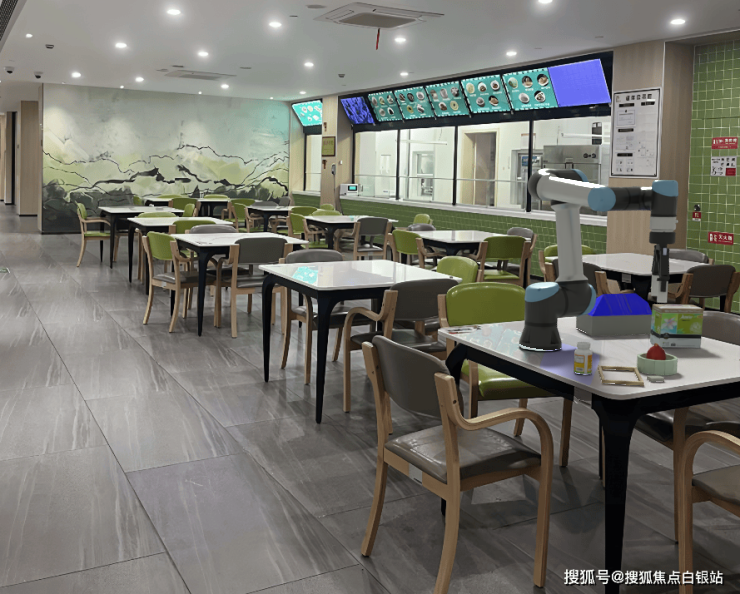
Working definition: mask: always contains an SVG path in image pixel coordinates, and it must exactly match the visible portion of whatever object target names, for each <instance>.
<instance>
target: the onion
mask: <svg viewBox="0 0 740 594" xmlns="http://www.w3.org/2000/svg"><path fill="white" fill-rule="evenodd" d="M646 353H647V354H646V357H647V359H651V360H666V354H667V353H666V351H665V349H664V347H660V346H659V345H658V344H657V343H655V344H653V345H652V346H651V347H649V348H648V350H647V351H646Z"/></svg>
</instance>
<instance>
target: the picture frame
mask: <svg viewBox="0 0 740 594" xmlns="http://www.w3.org/2000/svg"><path fill="white" fill-rule="evenodd" d="M602 369H616V370H630V371H629V372H635V373H634V375H635V374H636V375H635V377H636V376H637V377H636V379H637V378H638V379H637V380H622V379H621V380H620V379H605V375H604V372H603V370H602ZM598 370H599V371H598ZM616 370H615V371H616ZM597 371H598V374H600V375H599V378H600V377H601V379H600V381H601V380H602V382H601V384H602V383H615V384H626V385H625V386H630V385H640V386H639V387H644V386H645V382H644V380H643V377H642V376H641V374H640V373H641V372H639V371H638V369H637V366H622V365H621V366H619V365H617V366H616V365H597Z"/></svg>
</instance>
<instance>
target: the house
mask: <svg viewBox="0 0 740 594" xmlns="http://www.w3.org/2000/svg"><path fill="white" fill-rule="evenodd" d="M651 309H652V308H651V307H650V305H649V302H648V301H646V300H645V299H643V298H642V297H641V296H639V295H638V294H637V293H636V292H634V293H603V294H601V295H599V296H598V297H597V296H596V303H595V306H594V308H593V309H592V310H591V312H590V313H588V314H586V315H582V316H578V317H575V318H576V319H575V320H576V321H575V329H576V328H578V329H580V330H582V331H584V332H586V333H587V334H586V333H585V334H586V335H588V334H589V336H590V335H591V337H601V336H602V337H604V336H606V337H607V336H609V337H611V336H635V335H639V334H645V335H650V334H651V320H652V310H651ZM578 329H577V330H578ZM580 330H579V331H580ZM582 331H581V332H582ZM584 332H583V333H584ZM632 334H633V335H632ZM634 334H635V335H634ZM639 336H640V335H639Z"/></svg>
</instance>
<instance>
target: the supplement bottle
mask: <svg viewBox="0 0 740 594" xmlns="http://www.w3.org/2000/svg"><path fill="white" fill-rule="evenodd" d="M576 347H577V348H576V349H575V350H574V352H573V353H574V354H573V355H574V356H573V357H574V358H573V360H574V361H573V373H574V372H576V373H580V374H590V375H592V374H591V373H593V372H592V371H593V350H591V343H590V341H589V342H588V341H579V342H577V343H576Z"/></svg>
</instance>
